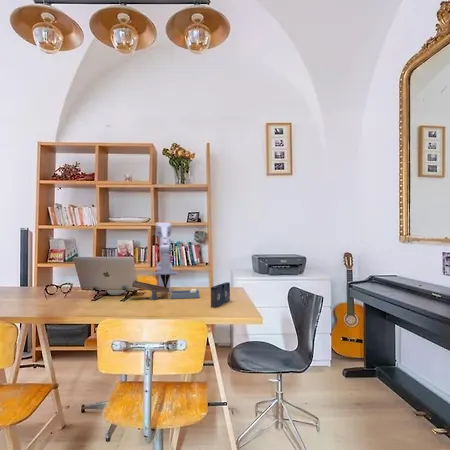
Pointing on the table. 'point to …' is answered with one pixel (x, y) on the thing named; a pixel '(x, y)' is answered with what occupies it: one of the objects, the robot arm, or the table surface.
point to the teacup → (115, 292)
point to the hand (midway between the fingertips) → (165, 287)
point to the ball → (193, 291)
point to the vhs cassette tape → (220, 294)
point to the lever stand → (154, 295)
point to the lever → (150, 287)
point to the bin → (184, 294)
